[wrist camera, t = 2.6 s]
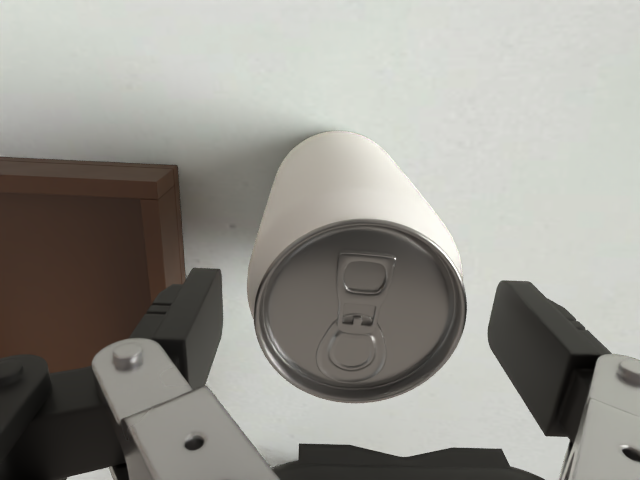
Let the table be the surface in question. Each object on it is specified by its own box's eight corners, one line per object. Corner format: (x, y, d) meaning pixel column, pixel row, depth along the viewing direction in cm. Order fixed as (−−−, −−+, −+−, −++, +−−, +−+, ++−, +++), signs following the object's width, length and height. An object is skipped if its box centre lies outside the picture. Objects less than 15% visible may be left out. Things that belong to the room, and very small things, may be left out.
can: (269, 245, 24) (233, 408, 13) (277, 122, 21) (241, 189, 10) (388, 255, 24) (454, 422, 13) (409, 135, 22) (512, 215, 11)
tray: (-103, 151, 22) (-172, 166, 18) (177, 164, 22) (156, 181, 19) (-22, 414, 28) (-63, 458, 25) (196, 420, 28) (181, 464, 25)
